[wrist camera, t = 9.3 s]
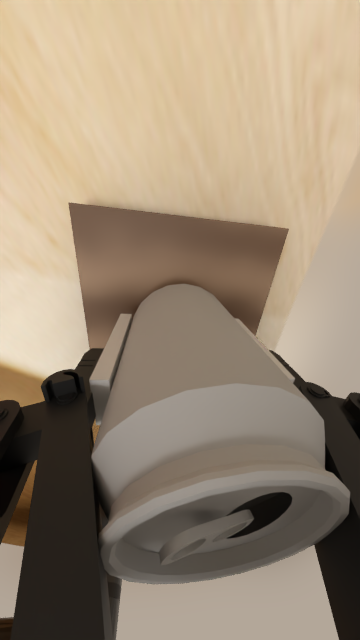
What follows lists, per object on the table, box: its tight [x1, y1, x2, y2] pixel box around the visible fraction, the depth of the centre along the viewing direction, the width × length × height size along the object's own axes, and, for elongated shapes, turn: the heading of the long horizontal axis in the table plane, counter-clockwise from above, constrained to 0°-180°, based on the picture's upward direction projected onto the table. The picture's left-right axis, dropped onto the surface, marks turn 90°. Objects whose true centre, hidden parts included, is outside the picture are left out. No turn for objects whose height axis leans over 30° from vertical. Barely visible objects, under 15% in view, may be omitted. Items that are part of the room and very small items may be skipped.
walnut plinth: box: [69, 203, 289, 349], centre depth 18 cm, size 16×16×3 cm
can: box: [91, 284, 350, 584], centre depth 10 cm, size 8×8×12 cm
